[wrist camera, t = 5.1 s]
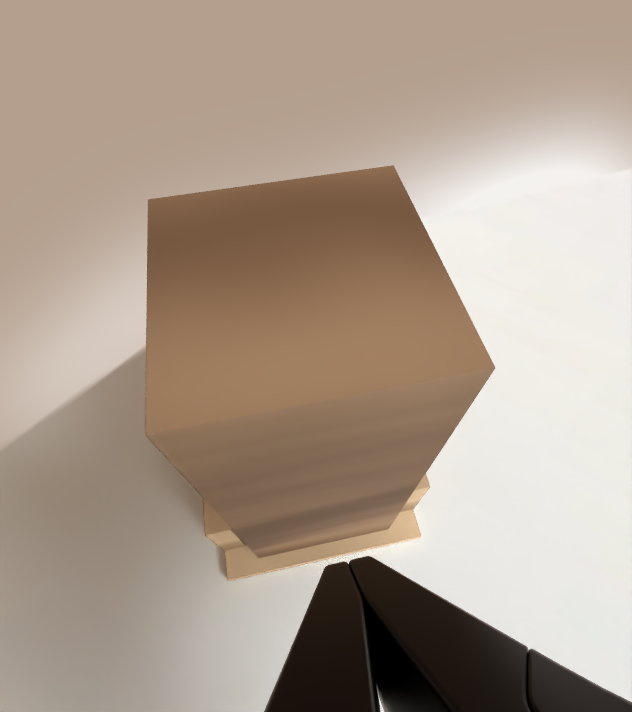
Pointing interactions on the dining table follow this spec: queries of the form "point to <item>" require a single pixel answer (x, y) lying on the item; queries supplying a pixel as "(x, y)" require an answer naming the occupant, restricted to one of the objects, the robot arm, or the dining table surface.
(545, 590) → the dining table surface
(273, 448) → the walnut block
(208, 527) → the chute
